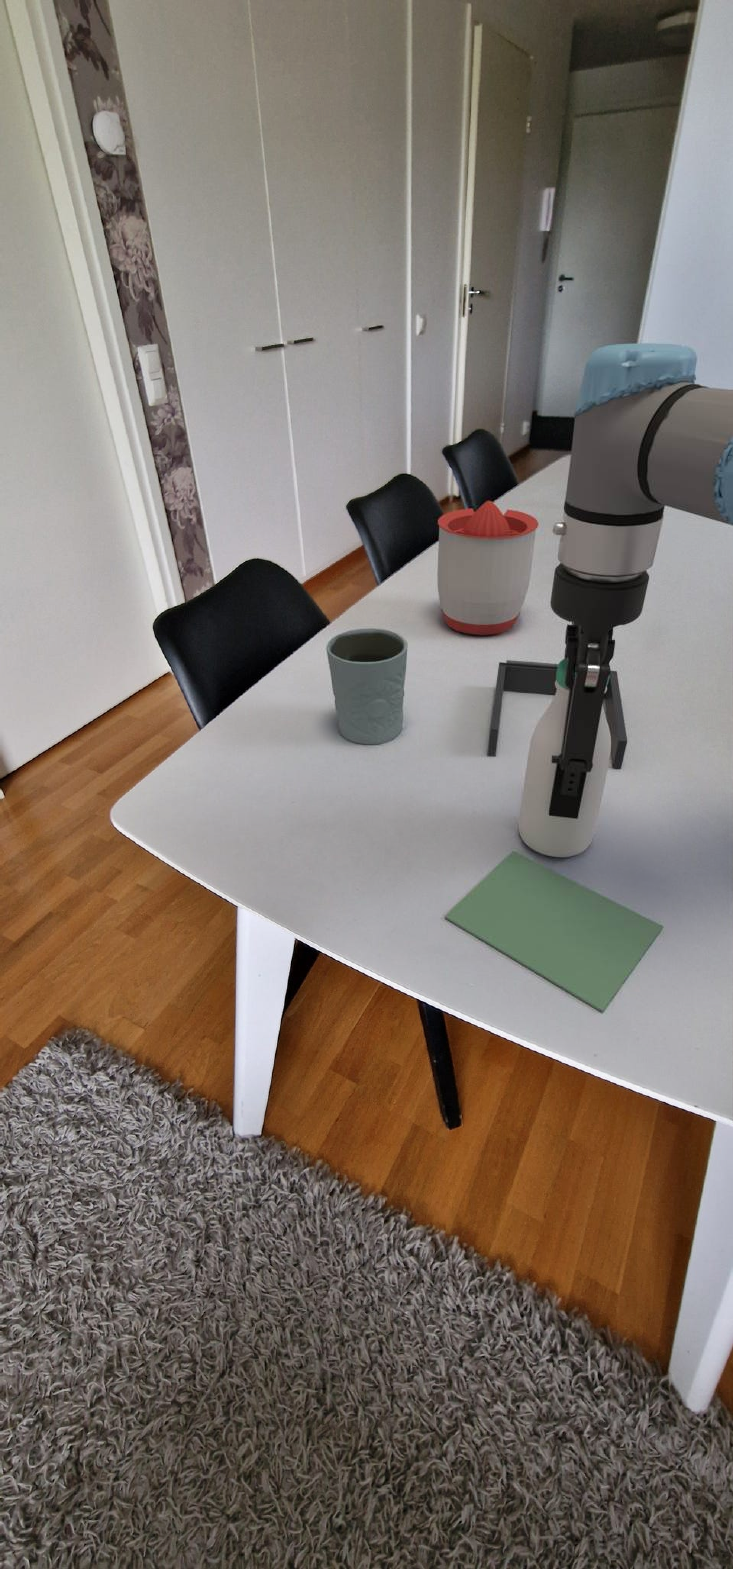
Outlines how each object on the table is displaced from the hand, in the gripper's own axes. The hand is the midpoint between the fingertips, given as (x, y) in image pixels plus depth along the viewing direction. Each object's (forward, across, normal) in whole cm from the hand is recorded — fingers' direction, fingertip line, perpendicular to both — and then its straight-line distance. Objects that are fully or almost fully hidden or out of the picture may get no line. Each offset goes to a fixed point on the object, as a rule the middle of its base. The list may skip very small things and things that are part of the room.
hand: (562, 788), depth 71 cm
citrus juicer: (+7, -55, -13) cm, 57 cm away
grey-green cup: (+7, -18, -24) cm, 31 cm away
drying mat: (+7, +12, 0) cm, 14 cm away
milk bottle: (+6, 0, 0) cm, 6 cm away
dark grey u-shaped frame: (+6, -23, 0) cm, 24 cm away
